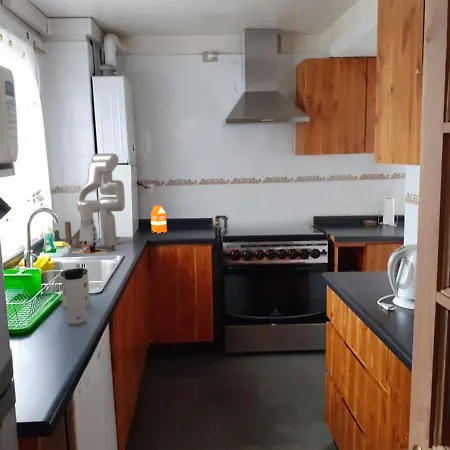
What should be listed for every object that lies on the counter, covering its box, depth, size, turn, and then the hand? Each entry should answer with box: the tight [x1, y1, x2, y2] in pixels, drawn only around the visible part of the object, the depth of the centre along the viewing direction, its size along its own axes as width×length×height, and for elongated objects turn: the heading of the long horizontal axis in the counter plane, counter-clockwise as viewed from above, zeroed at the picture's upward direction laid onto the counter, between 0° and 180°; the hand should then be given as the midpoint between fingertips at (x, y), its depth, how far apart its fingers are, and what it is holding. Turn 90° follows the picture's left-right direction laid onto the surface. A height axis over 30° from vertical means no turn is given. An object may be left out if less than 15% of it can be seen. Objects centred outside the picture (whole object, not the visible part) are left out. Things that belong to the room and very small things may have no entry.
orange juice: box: [150, 205, 168, 234], centre depth 393 cm, size 8×9×20 cm
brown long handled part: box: [64, 221, 81, 250], centre depth 330 cm, size 4×11×18 cm, turn 87°
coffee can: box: [59, 268, 91, 310], centre depth 206 cm, size 10×10×14 cm
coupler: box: [83, 242, 96, 254], centre depth 314 cm, size 5×8×5 cm, turn 153°
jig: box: [70, 244, 119, 256], centre depth 319 cm, size 18×23×5 cm
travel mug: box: [64, 267, 87, 327], centre depth 184 cm, size 6×7×20 cm
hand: (89, 251), depth 315 cm, fingers closed on jig, 5 cm apart
